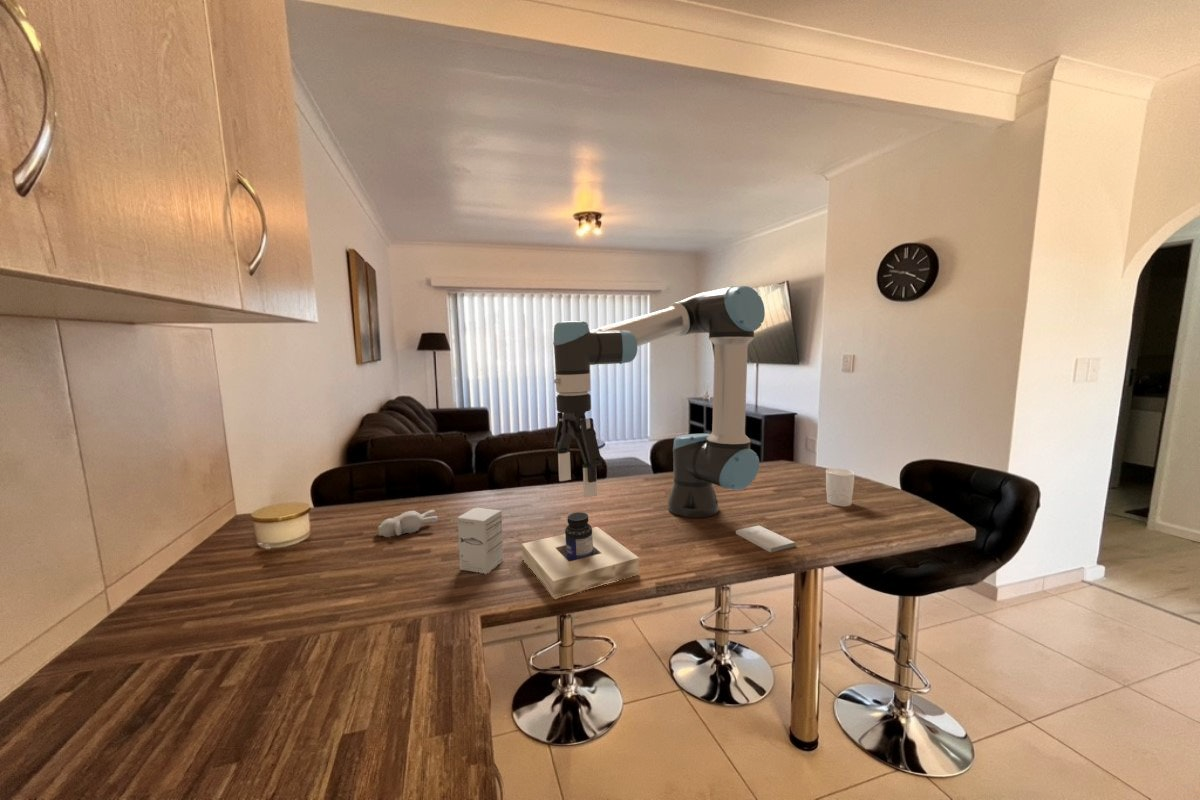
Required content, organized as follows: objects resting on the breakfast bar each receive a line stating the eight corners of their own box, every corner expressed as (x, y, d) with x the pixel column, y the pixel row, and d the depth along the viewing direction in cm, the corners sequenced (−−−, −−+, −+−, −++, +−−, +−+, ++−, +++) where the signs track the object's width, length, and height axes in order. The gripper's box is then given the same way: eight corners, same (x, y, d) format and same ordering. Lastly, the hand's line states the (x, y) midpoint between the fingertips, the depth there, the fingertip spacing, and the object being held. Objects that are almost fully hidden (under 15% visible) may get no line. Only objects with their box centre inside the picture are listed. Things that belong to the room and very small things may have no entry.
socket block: (597, 541, 117) (596, 526, 116) (639, 575, 99) (638, 557, 99) (522, 559, 107) (521, 543, 107) (553, 600, 90) (553, 581, 89)
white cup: (829, 506, 138) (830, 474, 137) (821, 498, 145) (822, 468, 144) (857, 507, 136) (859, 475, 135) (847, 499, 144) (849, 468, 143)
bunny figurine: (376, 517, 127) (432, 501, 133) (380, 534, 128) (435, 518, 134) (377, 528, 118) (436, 511, 125) (381, 546, 119) (440, 529, 126)
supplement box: (459, 570, 103) (455, 517, 101) (478, 556, 110) (475, 506, 108) (486, 575, 100) (483, 520, 99) (504, 560, 107) (502, 509, 106)
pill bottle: (564, 558, 105) (561, 513, 103) (589, 553, 107) (586, 509, 105) (571, 571, 99) (568, 523, 98) (597, 565, 101) (594, 518, 99)
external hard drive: (770, 554, 108) (735, 535, 120) (795, 548, 112) (759, 530, 123) (770, 548, 108) (735, 529, 120) (796, 541, 111) (759, 524, 123)
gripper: (537, 390, 108) (541, 476, 110) (582, 400, 86) (586, 507, 88) (566, 388, 111) (569, 472, 114) (616, 396, 89) (619, 500, 92)
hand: (577, 487), depth 101 cm, fingers open, 13 cm apart
